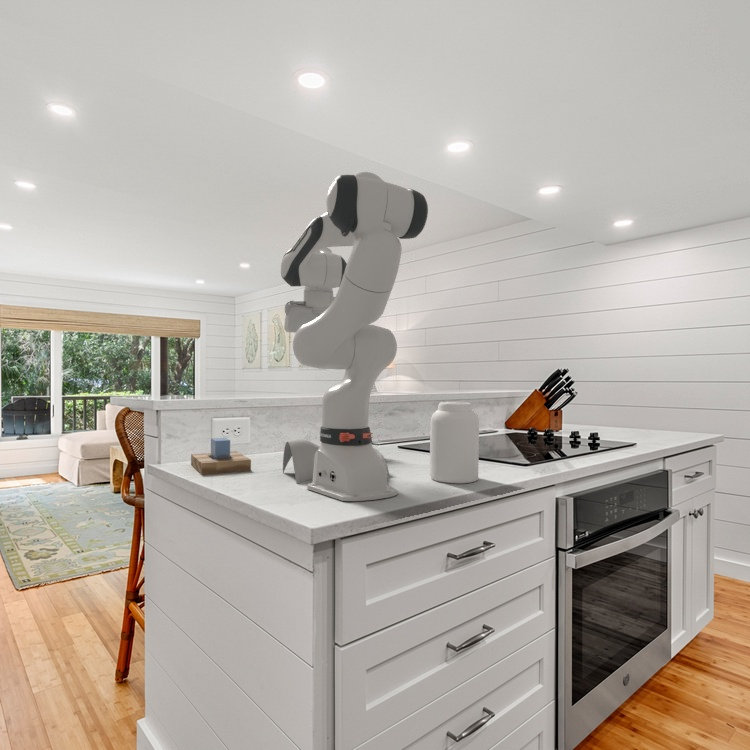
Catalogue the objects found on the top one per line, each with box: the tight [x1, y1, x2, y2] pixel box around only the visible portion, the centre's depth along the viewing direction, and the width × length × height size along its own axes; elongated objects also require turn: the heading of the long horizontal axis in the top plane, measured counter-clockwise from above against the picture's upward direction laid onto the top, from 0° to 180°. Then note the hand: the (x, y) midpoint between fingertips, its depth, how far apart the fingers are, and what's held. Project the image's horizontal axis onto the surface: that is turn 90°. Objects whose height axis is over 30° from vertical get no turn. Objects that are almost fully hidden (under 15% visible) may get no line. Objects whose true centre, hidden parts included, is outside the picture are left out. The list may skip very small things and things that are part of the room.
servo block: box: [210, 437, 231, 460], centre depth 145 cm, size 9×4×8 cm, turn 29°
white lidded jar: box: [429, 401, 480, 485], centre depth 133 cm, size 12×12×20 cm
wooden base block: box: [190, 450, 252, 475], centre depth 145 cm, size 16×13×3 cm
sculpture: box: [282, 438, 390, 485], centre depth 138 cm, size 25×19×10 cm
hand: (317, 348), depth 155 cm, fingers open, 8 cm apart
